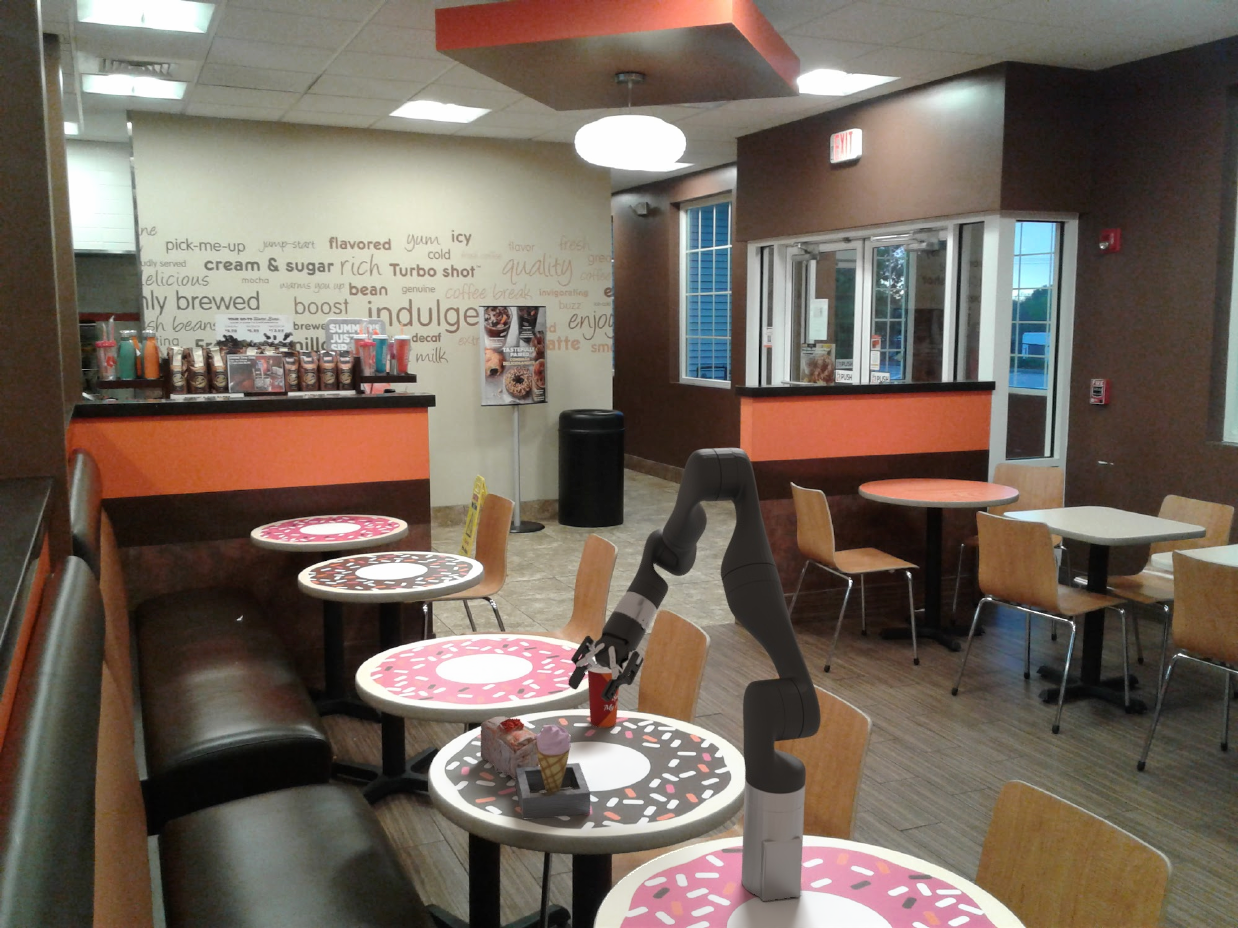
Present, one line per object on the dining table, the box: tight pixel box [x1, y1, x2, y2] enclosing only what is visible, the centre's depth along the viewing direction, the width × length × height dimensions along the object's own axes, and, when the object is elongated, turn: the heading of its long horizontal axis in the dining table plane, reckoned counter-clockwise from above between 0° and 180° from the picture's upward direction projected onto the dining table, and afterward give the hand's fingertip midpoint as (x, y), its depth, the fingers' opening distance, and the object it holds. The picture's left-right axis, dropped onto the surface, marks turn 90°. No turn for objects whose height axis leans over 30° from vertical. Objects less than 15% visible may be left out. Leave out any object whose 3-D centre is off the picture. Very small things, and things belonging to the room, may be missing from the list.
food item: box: [480, 715, 539, 780], centre depth 195 cm, size 14×8×10 cm, turn 41°
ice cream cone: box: [532, 724, 572, 792], centre depth 181 cm, size 7×6×15 cm
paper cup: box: [587, 657, 620, 728], centre depth 216 cm, size 8×8×14 cm
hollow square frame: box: [515, 762, 591, 819], centre depth 182 cm, size 12×12×4 cm
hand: (587, 693), depth 186 cm, fingers open, 8 cm apart
